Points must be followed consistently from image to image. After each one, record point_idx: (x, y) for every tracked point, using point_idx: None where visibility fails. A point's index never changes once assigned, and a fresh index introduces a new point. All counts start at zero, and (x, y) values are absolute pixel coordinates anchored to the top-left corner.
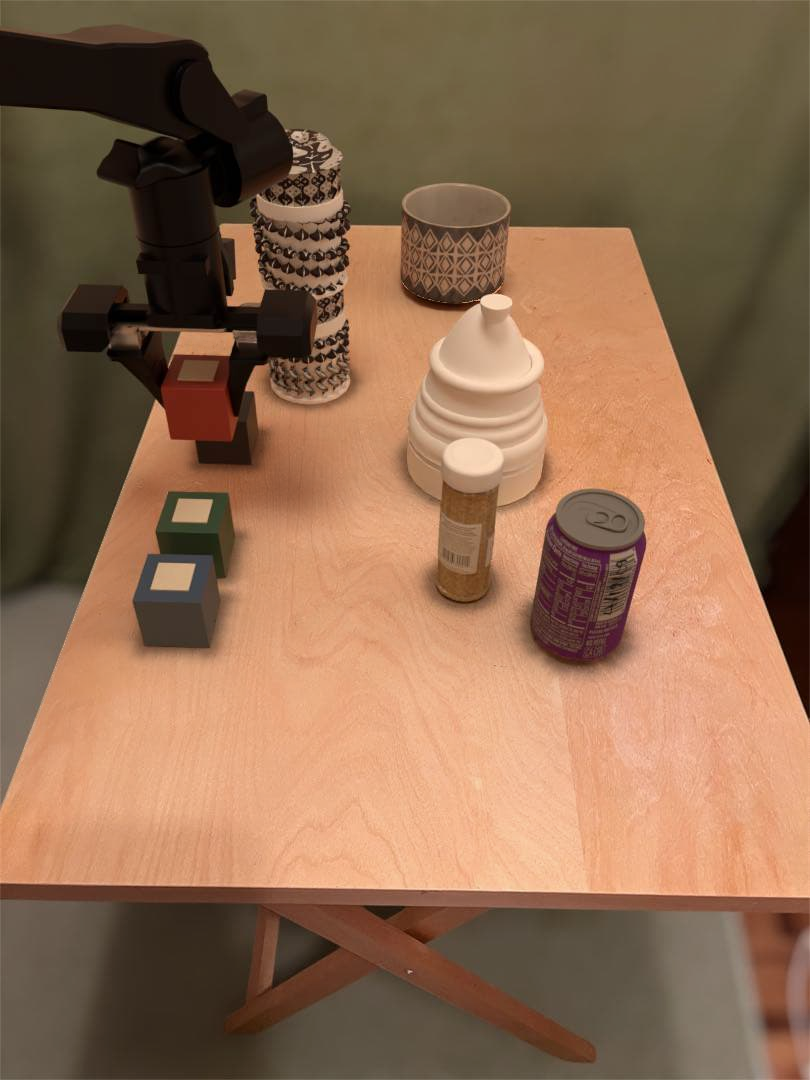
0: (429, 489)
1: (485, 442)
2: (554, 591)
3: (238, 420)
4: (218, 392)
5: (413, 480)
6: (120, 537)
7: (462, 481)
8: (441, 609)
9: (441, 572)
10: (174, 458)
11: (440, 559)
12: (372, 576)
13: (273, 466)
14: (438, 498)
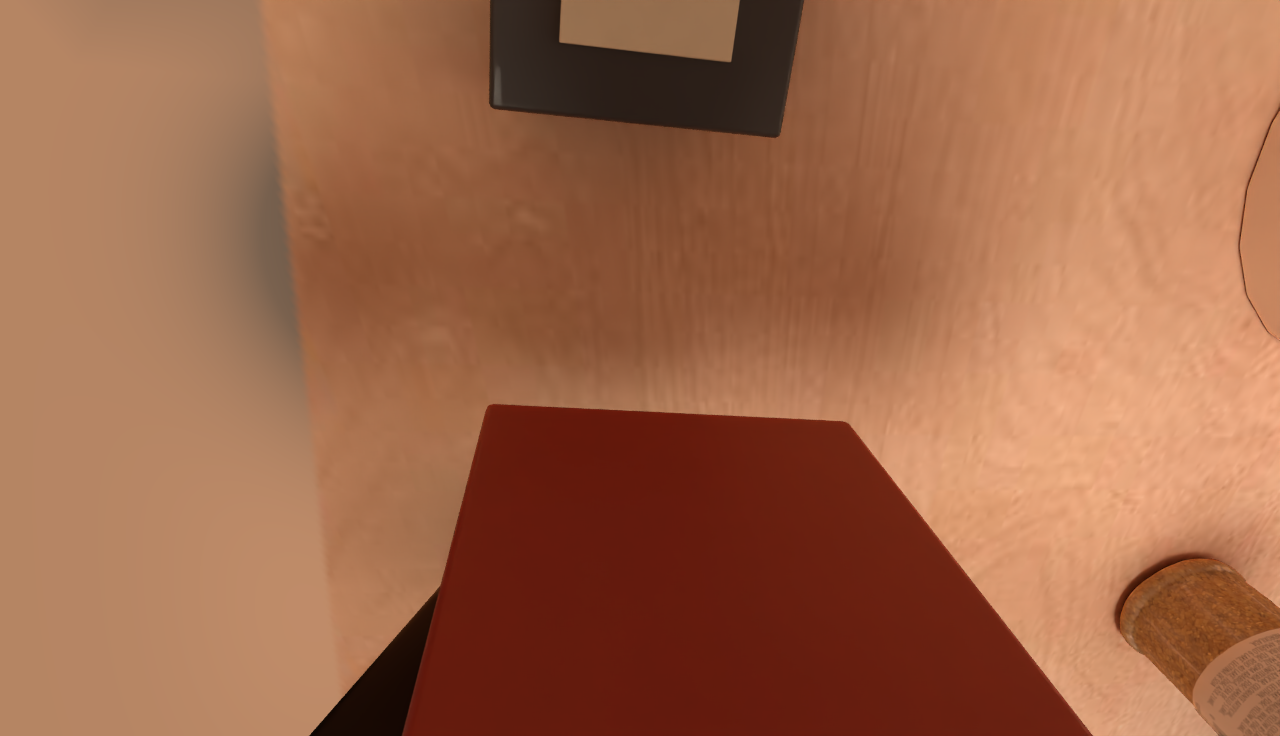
0: (1274, 314)
1: None
2: None
3: (740, 122)
4: None
5: (1242, 240)
6: (335, 467)
7: None
8: (1099, 656)
9: (1167, 672)
10: (403, 48)
11: (1198, 703)
12: (992, 583)
13: (802, 129)
14: (1272, 333)
